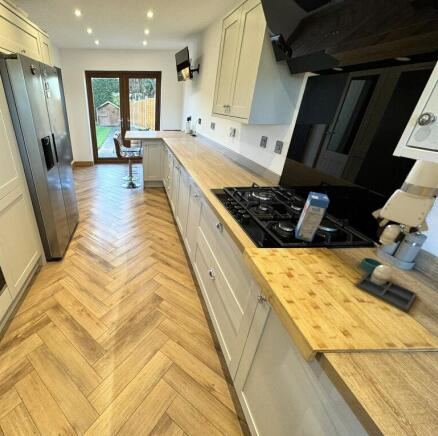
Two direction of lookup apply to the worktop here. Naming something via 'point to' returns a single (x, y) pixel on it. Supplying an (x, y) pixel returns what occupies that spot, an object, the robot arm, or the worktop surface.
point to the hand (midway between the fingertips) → (387, 238)
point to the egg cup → (369, 264)
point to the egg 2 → (381, 274)
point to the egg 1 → (390, 234)
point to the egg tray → (388, 292)
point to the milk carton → (311, 216)
